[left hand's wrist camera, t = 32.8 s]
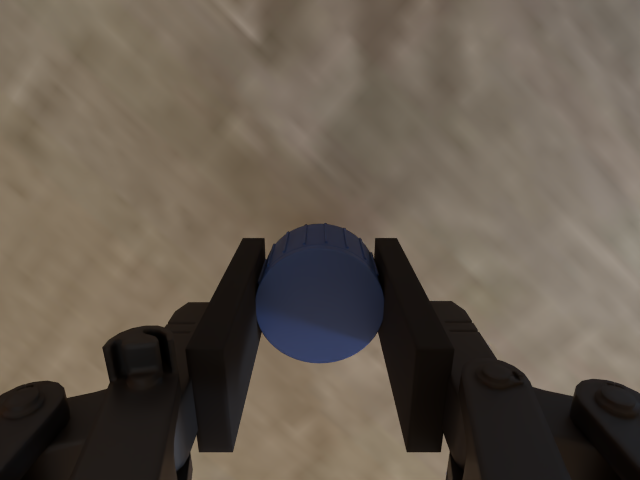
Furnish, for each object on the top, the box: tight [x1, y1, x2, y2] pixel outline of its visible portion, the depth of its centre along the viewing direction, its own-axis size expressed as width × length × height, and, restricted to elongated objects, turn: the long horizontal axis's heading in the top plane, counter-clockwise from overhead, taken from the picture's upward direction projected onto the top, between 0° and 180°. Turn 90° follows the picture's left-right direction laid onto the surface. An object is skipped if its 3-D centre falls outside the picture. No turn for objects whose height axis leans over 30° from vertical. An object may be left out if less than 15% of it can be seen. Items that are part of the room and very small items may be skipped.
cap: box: [256, 223, 384, 363], centre depth 13 cm, size 4×4×2 cm
